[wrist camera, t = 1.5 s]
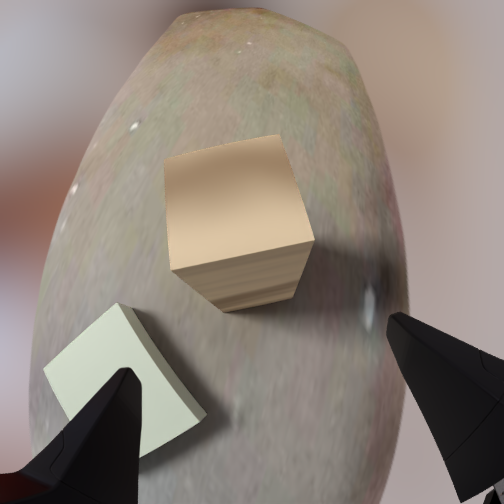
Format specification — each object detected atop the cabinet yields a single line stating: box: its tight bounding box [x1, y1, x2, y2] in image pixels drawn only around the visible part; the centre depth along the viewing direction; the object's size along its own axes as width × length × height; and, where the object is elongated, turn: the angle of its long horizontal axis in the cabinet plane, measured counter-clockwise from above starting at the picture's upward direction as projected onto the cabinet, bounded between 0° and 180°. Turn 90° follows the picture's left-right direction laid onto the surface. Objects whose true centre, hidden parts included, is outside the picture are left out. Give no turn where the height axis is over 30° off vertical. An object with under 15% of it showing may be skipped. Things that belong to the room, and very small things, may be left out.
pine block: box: [164, 134, 315, 313], centre depth 17 cm, size 6×6×12 cm
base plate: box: [43, 302, 207, 458], centre depth 18 cm, size 11×11×2 cm
